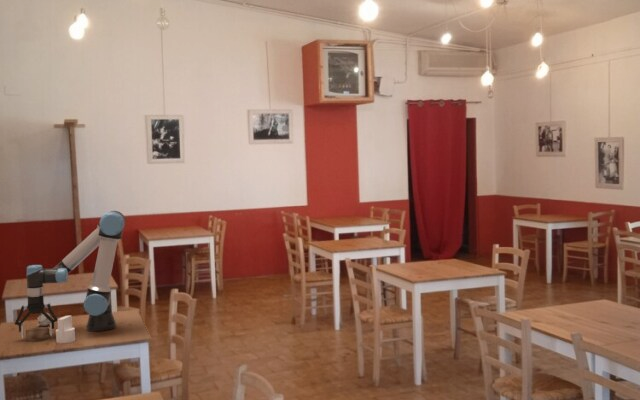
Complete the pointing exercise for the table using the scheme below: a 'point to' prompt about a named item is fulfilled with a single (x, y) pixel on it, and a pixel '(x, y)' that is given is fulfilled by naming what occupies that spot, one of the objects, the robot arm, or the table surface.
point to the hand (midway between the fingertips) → (37, 336)
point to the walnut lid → (37, 334)
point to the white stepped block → (65, 330)
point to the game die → (43, 320)
